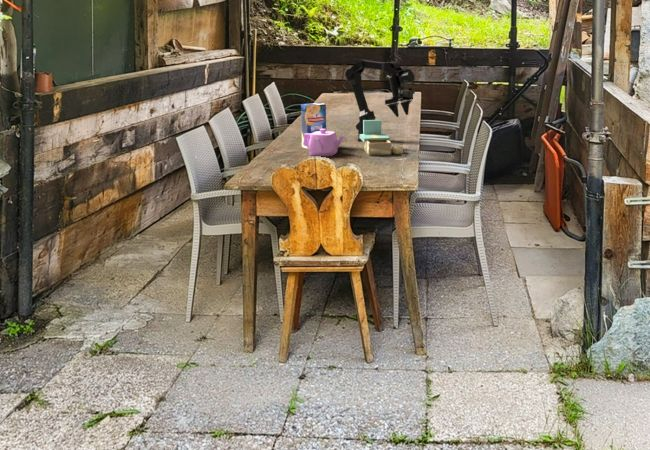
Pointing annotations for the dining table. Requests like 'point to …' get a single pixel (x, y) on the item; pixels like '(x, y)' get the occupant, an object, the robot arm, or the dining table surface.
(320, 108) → the beverage box
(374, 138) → the teal l-shaped bracket
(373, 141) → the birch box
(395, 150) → the tape roll
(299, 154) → the dining table surface
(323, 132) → the teakettle
